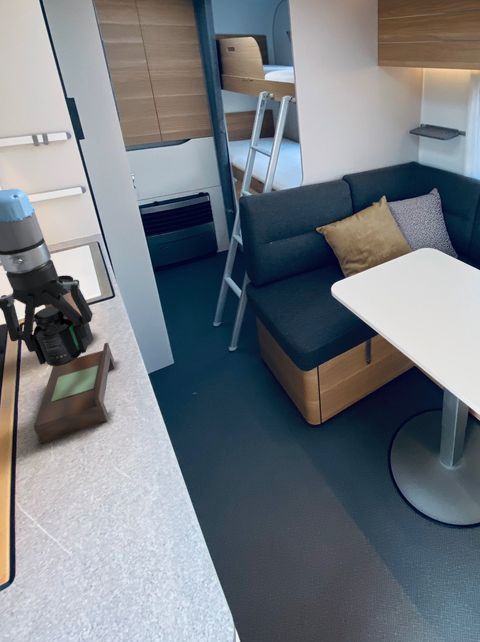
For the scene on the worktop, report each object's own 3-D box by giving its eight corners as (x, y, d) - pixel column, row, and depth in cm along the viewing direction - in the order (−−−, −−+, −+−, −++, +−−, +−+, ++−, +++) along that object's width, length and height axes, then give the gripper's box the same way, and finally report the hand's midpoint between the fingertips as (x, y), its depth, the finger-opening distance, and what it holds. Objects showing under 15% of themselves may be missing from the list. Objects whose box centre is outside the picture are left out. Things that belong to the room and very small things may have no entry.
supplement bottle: (90, 348, 94) (74, 305, 89) (62, 369, 88) (43, 324, 83) (67, 343, 96) (51, 300, 91) (38, 364, 89) (19, 319, 85)
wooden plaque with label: (41, 443, 86) (29, 419, 83) (60, 379, 103) (51, 357, 100) (107, 421, 91) (98, 397, 88) (115, 363, 107) (107, 342, 105)
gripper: (-43, 287, 76) (3, 381, 84) (84, 261, 83) (114, 350, 92) (-28, 268, 82) (14, 358, 91) (89, 246, 90) (116, 331, 99)
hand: (64, 354), depth 91 cm, fingers closed on supplement bottle, 7 cm apart
